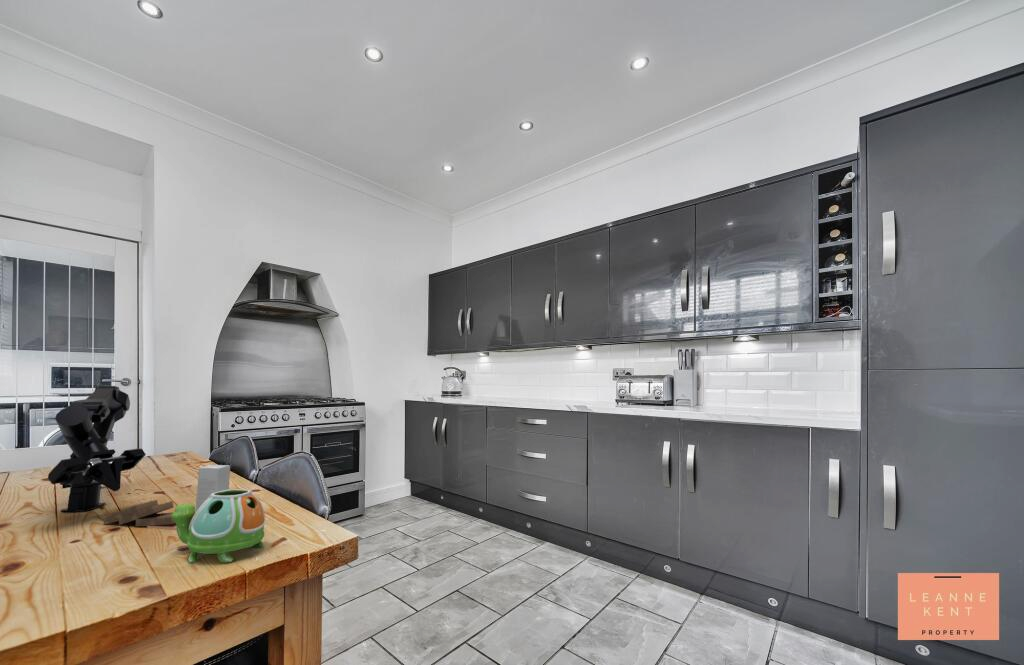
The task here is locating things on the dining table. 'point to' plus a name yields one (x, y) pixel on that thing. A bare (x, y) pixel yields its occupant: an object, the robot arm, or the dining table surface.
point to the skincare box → (211, 481)
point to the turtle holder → (221, 524)
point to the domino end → (164, 526)
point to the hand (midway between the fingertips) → (117, 489)
